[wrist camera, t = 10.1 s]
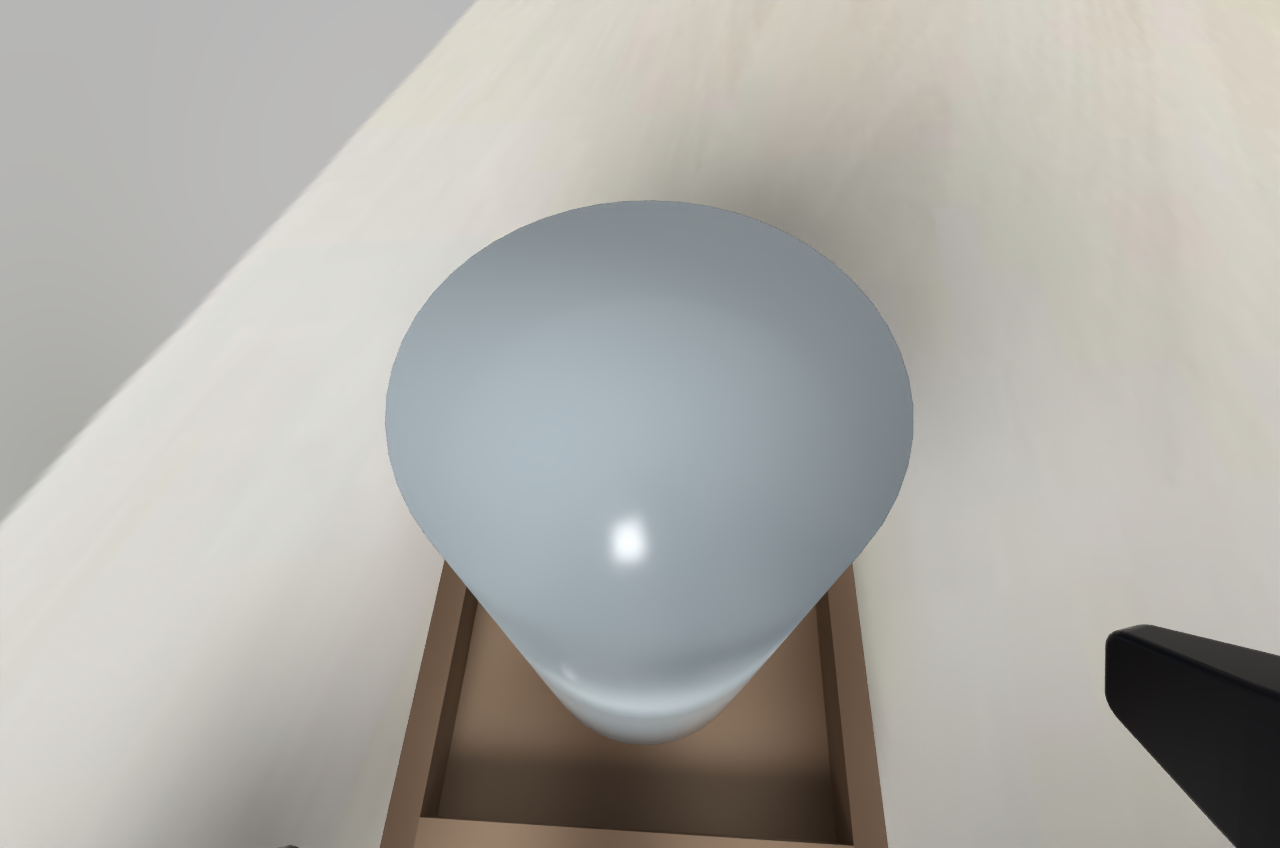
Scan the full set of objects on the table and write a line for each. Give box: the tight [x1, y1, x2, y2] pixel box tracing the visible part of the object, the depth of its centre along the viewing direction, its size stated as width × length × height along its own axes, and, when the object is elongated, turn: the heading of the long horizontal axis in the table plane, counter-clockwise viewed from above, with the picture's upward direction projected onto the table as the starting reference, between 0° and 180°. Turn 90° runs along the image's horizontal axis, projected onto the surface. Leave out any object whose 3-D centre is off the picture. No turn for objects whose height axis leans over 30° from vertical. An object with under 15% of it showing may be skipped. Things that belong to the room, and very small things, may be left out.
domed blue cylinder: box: [385, 201, 913, 745], centre depth 13 cm, size 6×6×13 cm
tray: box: [380, 560, 888, 848], centre depth 19 cm, size 12×12×2 cm
